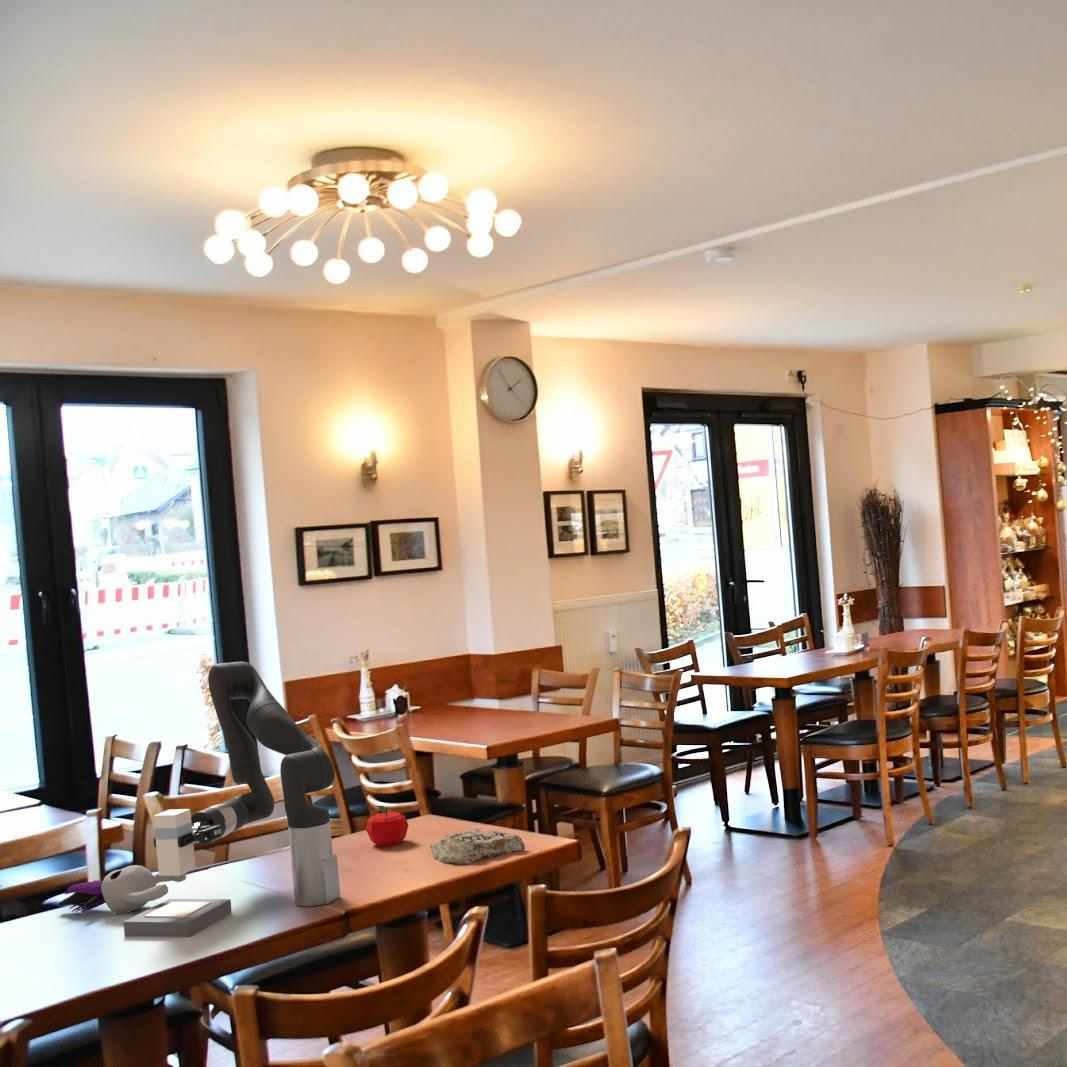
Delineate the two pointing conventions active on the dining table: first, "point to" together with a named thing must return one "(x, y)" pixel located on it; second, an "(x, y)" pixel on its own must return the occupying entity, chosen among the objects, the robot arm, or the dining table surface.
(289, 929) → the dining table surface
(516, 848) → the stone
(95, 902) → the figurine
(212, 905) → the podium
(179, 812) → the carton
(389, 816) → the apple
